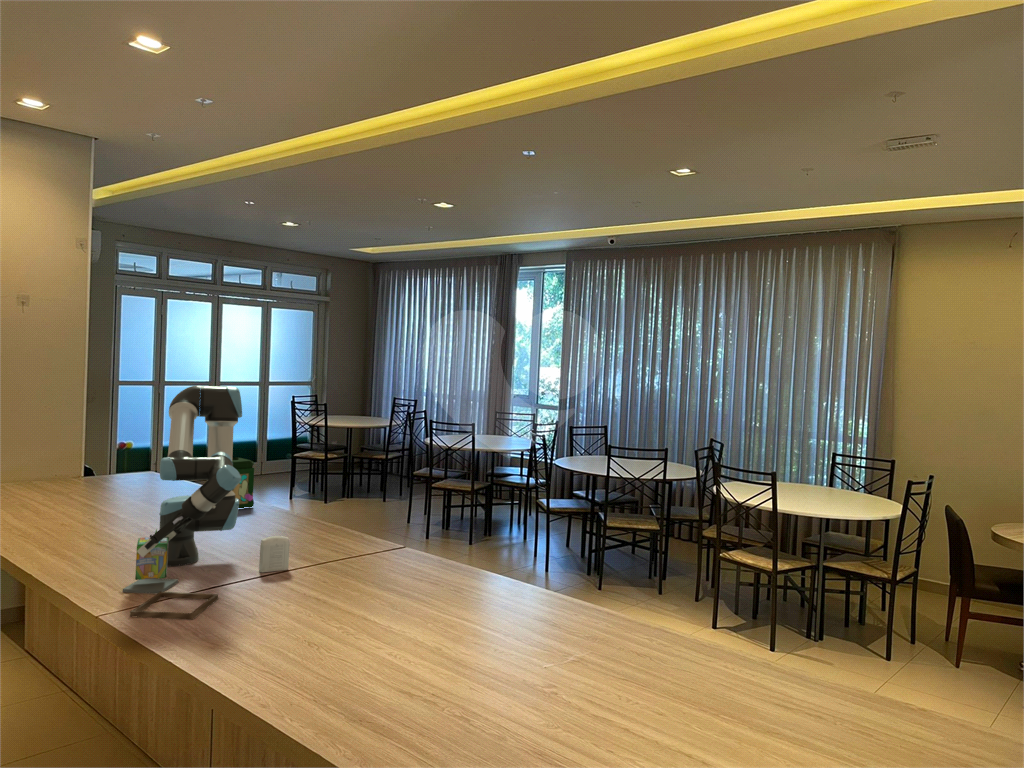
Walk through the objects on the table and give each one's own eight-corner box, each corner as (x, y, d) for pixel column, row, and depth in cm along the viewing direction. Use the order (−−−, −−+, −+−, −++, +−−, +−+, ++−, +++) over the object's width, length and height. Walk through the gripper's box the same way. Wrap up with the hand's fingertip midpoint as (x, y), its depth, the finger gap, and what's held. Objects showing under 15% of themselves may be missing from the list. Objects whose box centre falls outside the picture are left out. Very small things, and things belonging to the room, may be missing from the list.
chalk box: (136, 572, 231) (138, 527, 230) (167, 570, 235) (169, 526, 234) (134, 580, 222) (135, 534, 222) (166, 578, 226) (168, 532, 226)
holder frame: (130, 616, 203) (130, 611, 203) (160, 596, 221) (160, 591, 221) (192, 619, 203) (192, 614, 203) (218, 598, 221) (218, 594, 221)
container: (207, 507, 350) (209, 457, 350) (241, 502, 364) (242, 454, 363) (222, 512, 341) (224, 460, 340) (256, 507, 355) (258, 458, 354)
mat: (122, 592, 223) (122, 589, 223) (142, 580, 235) (142, 577, 235) (160, 594, 223) (160, 590, 223) (178, 582, 235) (178, 579, 235)
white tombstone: (286, 567, 258) (288, 533, 258) (289, 570, 254) (291, 536, 254) (257, 570, 252) (259, 536, 252) (260, 573, 249) (262, 539, 248)
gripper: (190, 520, 216) (138, 567, 216) (221, 505, 240) (175, 548, 240) (174, 502, 216) (121, 550, 216) (206, 489, 240) (159, 532, 240)
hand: (149, 549), depth 228 cm, fingers closed on chalk box, 11 cm apart
